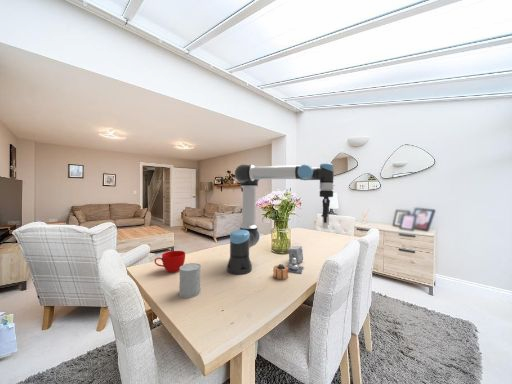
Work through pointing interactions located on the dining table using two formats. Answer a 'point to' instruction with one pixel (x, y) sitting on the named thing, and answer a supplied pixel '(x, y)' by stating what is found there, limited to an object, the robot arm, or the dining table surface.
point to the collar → (280, 272)
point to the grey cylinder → (190, 280)
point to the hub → (294, 267)
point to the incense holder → (295, 254)
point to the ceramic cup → (172, 260)
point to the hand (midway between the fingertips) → (325, 226)
